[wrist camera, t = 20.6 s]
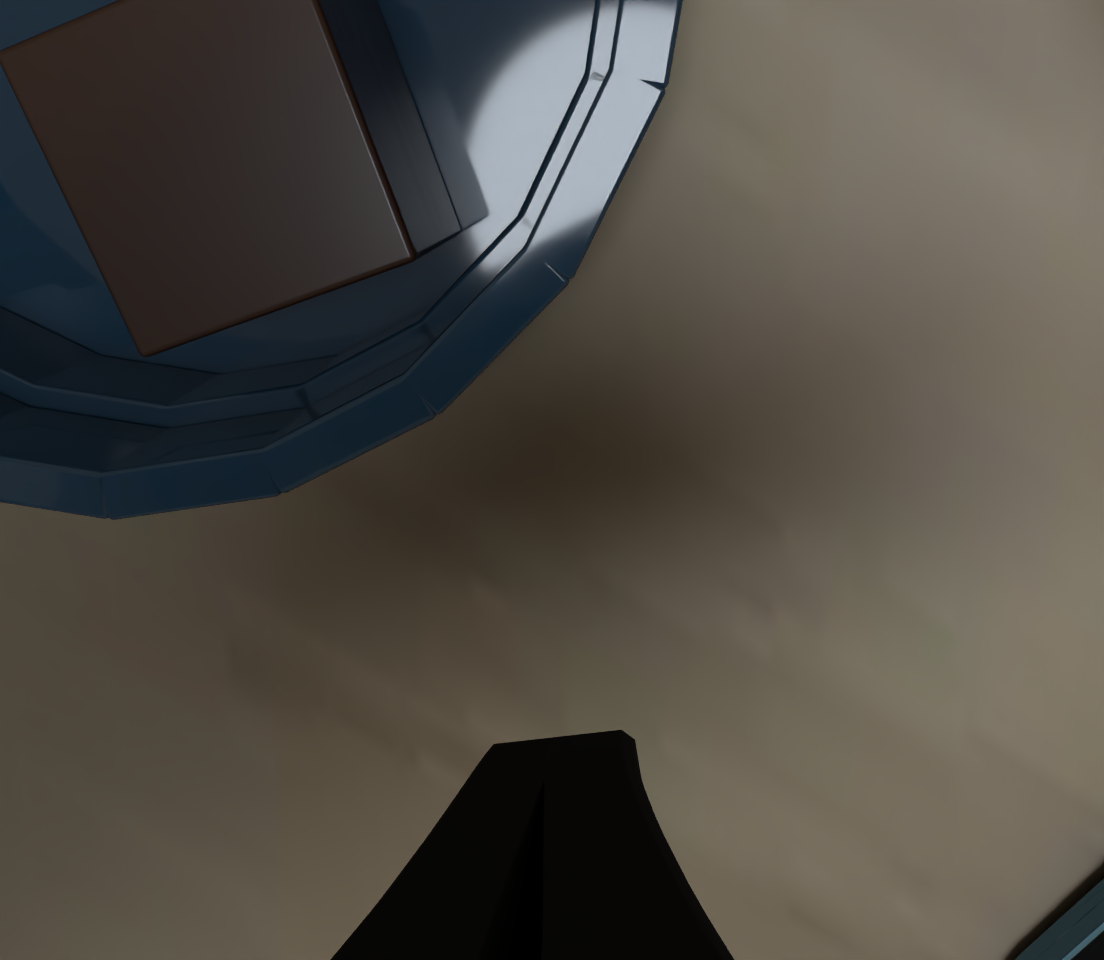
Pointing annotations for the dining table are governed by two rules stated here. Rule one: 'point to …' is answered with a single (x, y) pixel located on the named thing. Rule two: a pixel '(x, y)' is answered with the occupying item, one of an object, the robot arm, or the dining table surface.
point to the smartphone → (1073, 932)
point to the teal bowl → (338, 316)
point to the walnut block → (231, 154)
